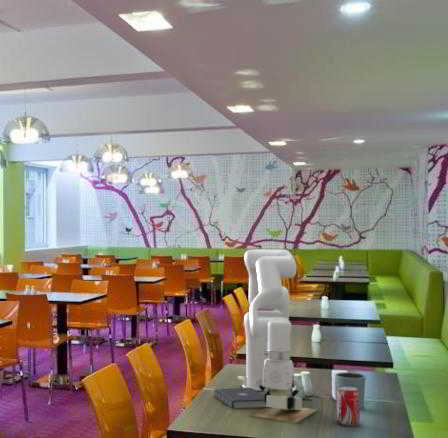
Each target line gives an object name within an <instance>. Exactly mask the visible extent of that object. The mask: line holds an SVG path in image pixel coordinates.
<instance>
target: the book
mask: <svg viewBox="0 0 448 438" xmlns="http://www.w3.org/2000/svg"><path fill="white" fill-rule="evenodd" d="M213 394H214V397H215V398H216V399H218V400H219V401H220V402H222V403H224V404H225V405H226V406H227V407H229V408H231V409H233V410H236V409H237V410H239V409H241V410H242V409H243V410H244V409H265V408H272V407H266V403H265V394H263V393H261V391H256V390H254V389H252V388H243V387H234V388H233V387H231V388H230V387H229V388H214V392H213Z"/></svg>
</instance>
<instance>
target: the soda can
mask: <svg viewBox="0 0 448 438" xmlns="http://www.w3.org/2000/svg"><path fill="white" fill-rule="evenodd" d="M336 419H337V423H339V424H340V425H342V426H345V427H354V426H357V425H358V424H360V409H359V393H358V391H357V388H354V387H347V386H343V387H339V390H338V392H337V400H336Z"/></svg>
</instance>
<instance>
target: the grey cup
mask: <svg viewBox="0 0 448 438" xmlns="http://www.w3.org/2000/svg"><path fill="white" fill-rule="evenodd" d="M366 378H367V376H366V375H365V374H363V373H359V372H352V371H351V372H350V371H348V372H343V373H337V374H336V380H337V392H338V390H339V387H343V386H347V387H354V388H357V391H358V393H359V411H363V410H364V407H365V392H366Z"/></svg>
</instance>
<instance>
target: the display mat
mask: <svg viewBox="0 0 448 438" xmlns="http://www.w3.org/2000/svg"><path fill="white" fill-rule="evenodd" d="M317 411H318V409H316V408H308V407H302V410H285V409H279V408H262V409H261V410H259V411H257V412H255V413H252V414H251V416H253V417H259V418H266V419H272V420H278V421H285V422H291V423H298V422H300V421H301V420H303V419H305V418H307V417H308V416H310V415H312V414H313V413H315V412H317Z"/></svg>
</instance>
